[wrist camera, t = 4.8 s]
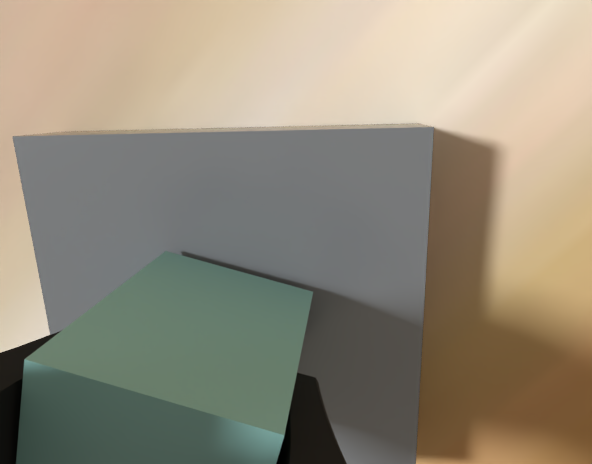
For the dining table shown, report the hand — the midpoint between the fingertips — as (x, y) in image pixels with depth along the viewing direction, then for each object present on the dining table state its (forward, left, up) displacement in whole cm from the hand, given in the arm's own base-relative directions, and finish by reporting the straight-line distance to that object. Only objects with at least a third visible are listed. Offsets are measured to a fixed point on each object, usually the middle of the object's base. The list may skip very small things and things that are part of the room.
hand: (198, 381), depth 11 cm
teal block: (0, 0, -2) cm, 3 cm away
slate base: (0, 0, -5) cm, 5 cm away
